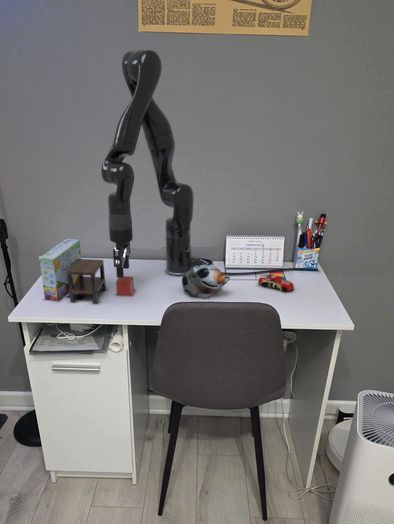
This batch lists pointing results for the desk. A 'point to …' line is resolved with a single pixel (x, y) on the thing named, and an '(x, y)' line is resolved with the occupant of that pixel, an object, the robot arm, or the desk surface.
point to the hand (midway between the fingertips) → (123, 272)
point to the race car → (275, 282)
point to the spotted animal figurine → (203, 281)
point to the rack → (86, 278)
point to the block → (125, 286)
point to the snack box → (59, 268)
